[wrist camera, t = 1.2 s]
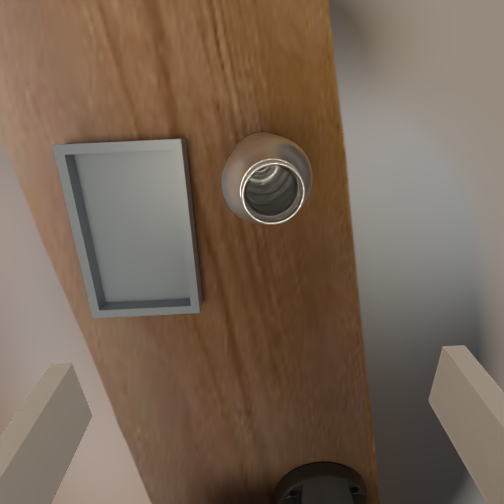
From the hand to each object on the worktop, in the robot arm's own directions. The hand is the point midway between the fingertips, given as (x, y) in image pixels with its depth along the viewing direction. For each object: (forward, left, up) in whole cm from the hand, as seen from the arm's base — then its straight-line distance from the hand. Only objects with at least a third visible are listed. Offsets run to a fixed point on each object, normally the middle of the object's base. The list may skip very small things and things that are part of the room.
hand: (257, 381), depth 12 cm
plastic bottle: (+5, -1, -29) cm, 30 cm away
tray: (-2, +13, -29) cm, 32 cm away
